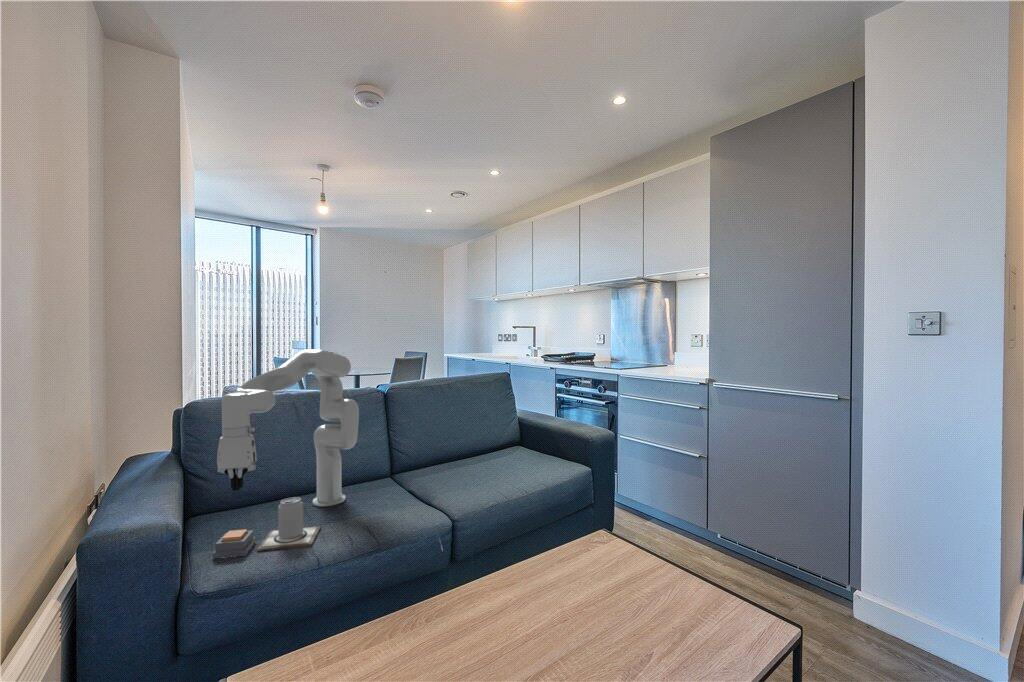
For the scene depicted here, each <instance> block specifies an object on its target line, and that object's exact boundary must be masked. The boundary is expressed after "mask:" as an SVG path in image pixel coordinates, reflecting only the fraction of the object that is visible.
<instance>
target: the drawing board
mask: <svg viewBox="0 0 1024 682" xmlns="http://www.w3.org/2000/svg"><path fill="white" fill-rule="evenodd" d="M320 528H322V527H321V525H318V526H317V525H316V526H306V527H304V526H303V532H302V533H301V535H300V536H298V537H296V538H293V539H282V538H281V537H279V536H278V529H272V530H270V531H269V532H268V534H267V535H266V537H265V538H264V539H263V541H262V542H261V543H260V544H259V546H258V547H257V548H256V551H258V550H269V551H273V550H272V549H280V550H288V549H287V548H290V549H299V548H300V549H301V548H309V547H311V548H312V546H313V544H314V542H315V541H316V539H315V538H317V537H316V536H318V535H317V534H319V533H318V532H320V531H319V530H321V529H320Z"/></svg>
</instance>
